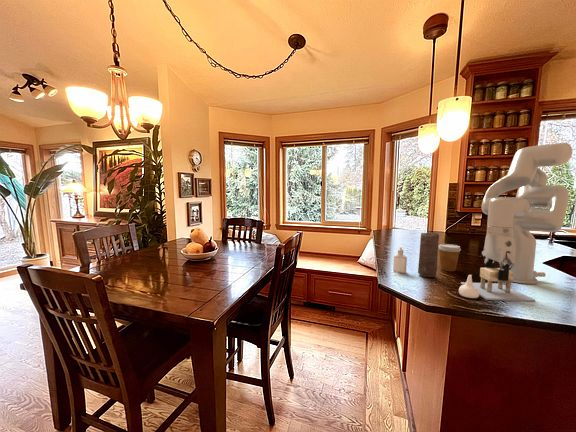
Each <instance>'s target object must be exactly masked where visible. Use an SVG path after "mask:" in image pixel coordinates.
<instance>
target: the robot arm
mask: <svg viewBox="0 0 576 432" xmlns="http://www.w3.org/2000/svg"><path fill="white" fill-rule="evenodd" d="M572 155H573V148H572V145H571V144H569V143H568V142H559V143H549V144H541V145H540V144H539V145H532V146H526V147H521V148H520V149H518V150H517V151H516V152H515V153H514V155H513V158H512V159H511V160H512V161H511V162H510V166H509V168H508V171H507V173H506V175H505V176H503V177H501V178H499V179H498V180H497V181H495V182H494V183H493V184H492V185H490V186H489V187H488V189H487V190H486V191H485V194H484V197H483V199H482V202H481V212H482V213H483V214H485V215H487V225H486V235H485V239H484V246H483V250H482V251H481V255H482V256H483V257H482V258H483V260H484V261H483V264H484V268H495V263H494V262H497V263H498V266H499V268H500V270H499V272H498V280H500V281H508V278H509V271H511V272H513V282H512V283H518V284H524V285H526V284H527V285H535V284H536V285H537V284H538V281H539V279H538V278H540V277H543V278H545V277H547V275H546V272H543V271H541V272H540V271H539V272H538V271H536V270H534V269H535V260H536V252H537V251H536V250H537V249H536V248H537V240H536V238H535V236H534V235H533V233H531V231H534V232H544V233H557V232H559V231H561V230H562V228H563V225H564V221H565V217H566V214H567V208H568V205H569V201H570V199H569V197H570V192H569V189H568V188H567V187H565V186H563V185H557V184H553V185H551V184H549V185H547V182H548V176H547V174H546V173H545V172H544V171H543V170H542V169H540V168H541V167H552V166H553V167H554V166H561V165H565V164H566V163H569V161H570V159H571V158H572ZM539 167H540V168H539ZM516 189H517V192H516V195H515V197H512V196H500V195H502V194H504V193H507V192H510V191H513V190H516Z"/></svg>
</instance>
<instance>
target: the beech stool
mask: <svg viewBox="0 0 576 432" xmlns="http://www.w3.org/2000/svg"><path fill="white" fill-rule="evenodd" d="M499 270H500V267H494V268H485V267H480V269H479V277H480V283H481V284H480V288H482V289H485V283H486V281H487V283H488V284H487V292H489V293H492V283H493V282H497V283H498V289H502V287H503V283H504V282H505V285H506V287H505V293H510V288H512V287H511V286H512V284H511V283H514V282H513V272H511V271H509V278H508V281H500V280H498V272H499Z"/></svg>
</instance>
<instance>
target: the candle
mask: <svg viewBox="0 0 576 432" xmlns="http://www.w3.org/2000/svg"><path fill="white" fill-rule="evenodd" d="M439 241H440V234H439V232H438V233H437V232H421V233H420V241H419V243H420V244H419V255H418V256H419V257H418V264H417V265H418V266H417V267H418V269H417V270H418V271H417V274H419V276H421V277H424V278H428V277H429V278H433V277H437V270H438V254H439V248H438V247H439Z"/></svg>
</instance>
